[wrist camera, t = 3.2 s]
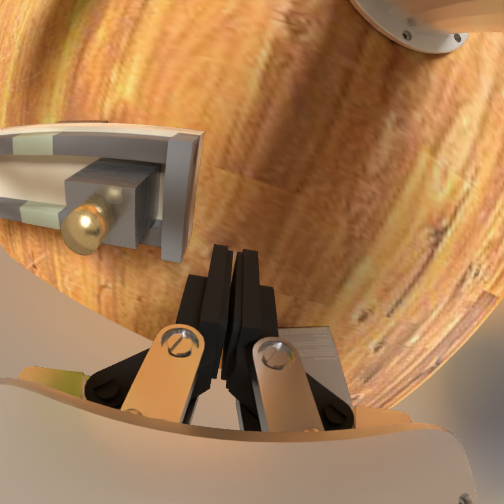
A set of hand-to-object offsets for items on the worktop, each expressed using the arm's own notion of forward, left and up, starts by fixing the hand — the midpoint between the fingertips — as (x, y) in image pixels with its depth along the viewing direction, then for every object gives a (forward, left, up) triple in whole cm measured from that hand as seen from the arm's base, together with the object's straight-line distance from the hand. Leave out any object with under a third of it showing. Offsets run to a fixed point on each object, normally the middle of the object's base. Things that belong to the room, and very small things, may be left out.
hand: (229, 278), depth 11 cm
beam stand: (-1, -14, -12) cm, 18 cm away
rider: (-1, -7, -6) cm, 9 cm away
